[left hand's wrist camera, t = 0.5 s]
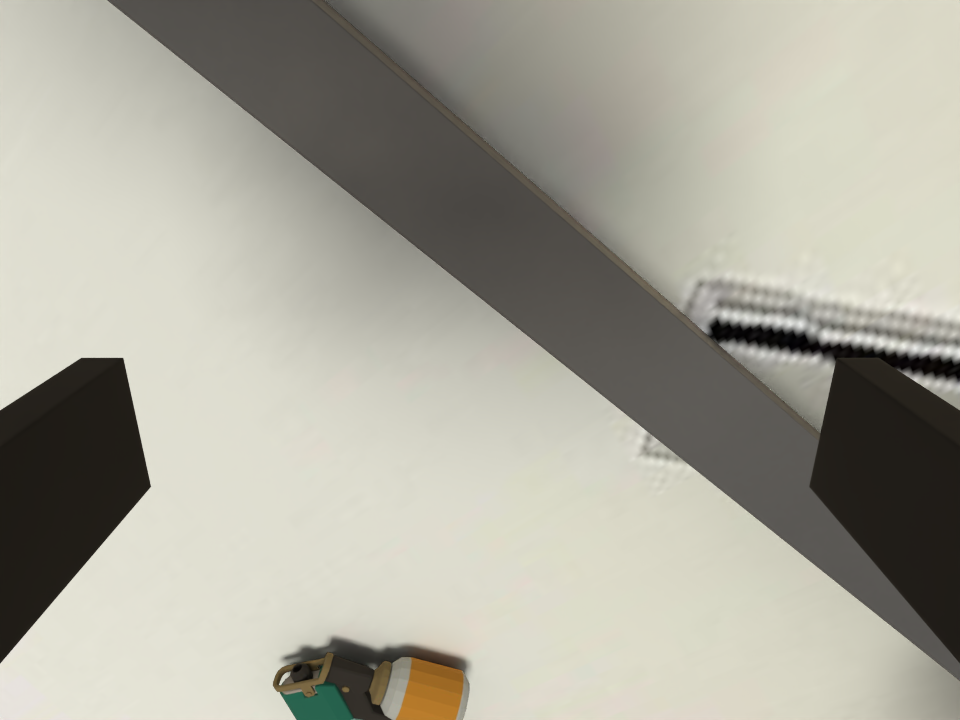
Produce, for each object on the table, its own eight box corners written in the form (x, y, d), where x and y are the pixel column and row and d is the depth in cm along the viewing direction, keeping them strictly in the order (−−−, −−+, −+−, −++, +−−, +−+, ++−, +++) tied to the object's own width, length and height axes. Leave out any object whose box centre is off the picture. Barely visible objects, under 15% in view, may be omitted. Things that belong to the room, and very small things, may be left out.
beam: (-41, -168, 30) (-226, -266, 22) (7, -276, 29) (-174, -421, 21) (983, 667, 49) (1081, 778, 41) (1042, 627, 47) (1156, 732, 39)
